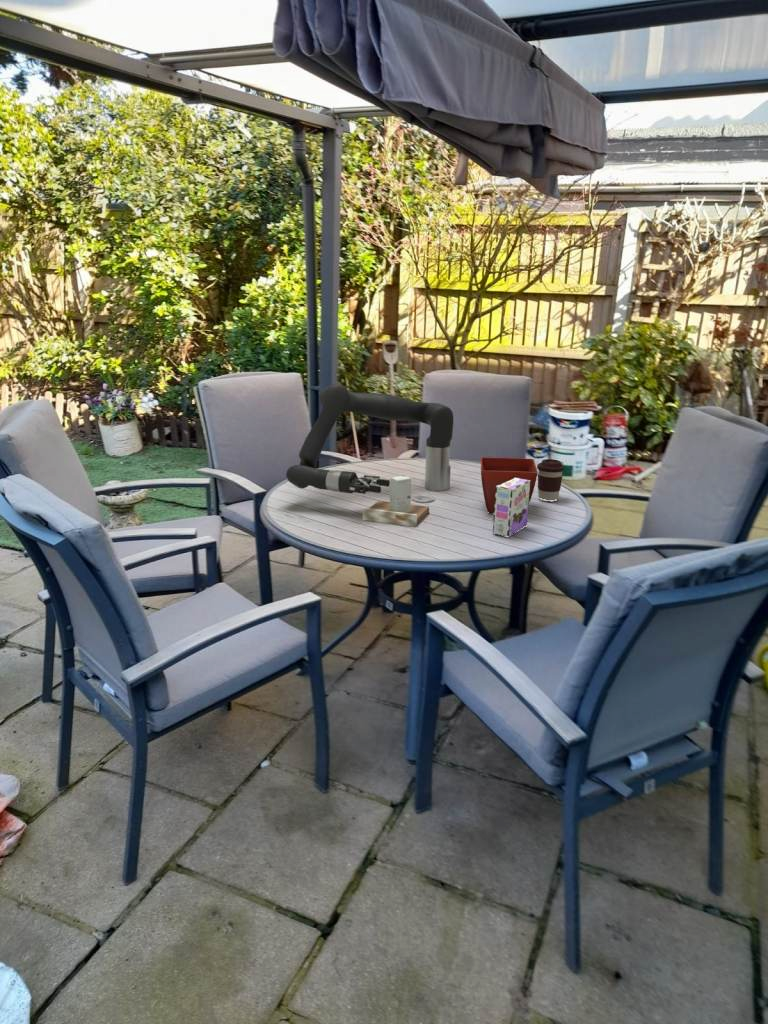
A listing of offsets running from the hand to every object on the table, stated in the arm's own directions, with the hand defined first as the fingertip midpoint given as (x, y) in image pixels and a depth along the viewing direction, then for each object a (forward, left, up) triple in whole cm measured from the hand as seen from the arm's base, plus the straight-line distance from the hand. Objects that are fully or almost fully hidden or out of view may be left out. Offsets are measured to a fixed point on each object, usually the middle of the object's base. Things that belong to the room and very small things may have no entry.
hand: (385, 486), depth 229 cm
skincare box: (-5, +3, -9) cm, 10 cm away
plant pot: (-44, -2, -11) cm, 46 cm away
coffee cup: (-64, -11, -11) cm, 66 cm away
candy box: (-38, +20, -11) cm, 44 cm away
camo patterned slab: (-4, 0, -11) cm, 12 cm away
